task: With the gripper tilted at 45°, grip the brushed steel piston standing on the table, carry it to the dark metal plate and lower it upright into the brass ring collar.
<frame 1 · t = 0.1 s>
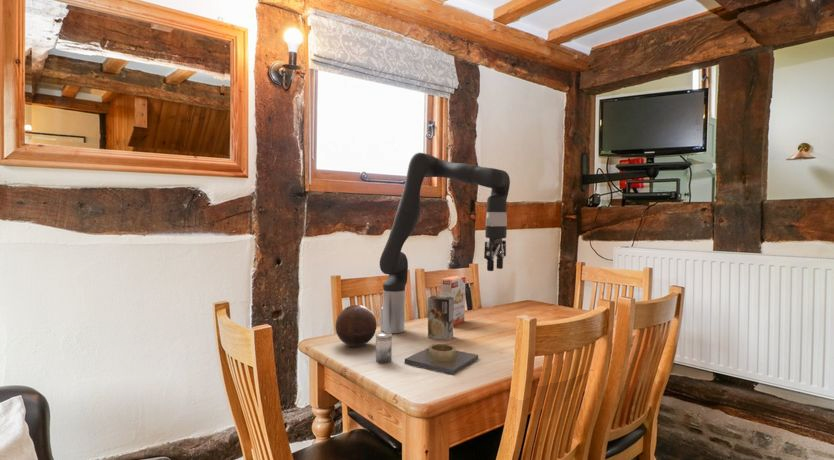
hand: (495, 269, 161), 29 cm above the table, tool pointing down, fingers open, 8 cm apart
wooden sphere: (355, 346, 165), on the table
cracker box: (452, 324, 200), on the table
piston: (383, 361, 148), on the table
square base with socket: (442, 361, 148), on the table
coffee box: (440, 337, 177), on the table
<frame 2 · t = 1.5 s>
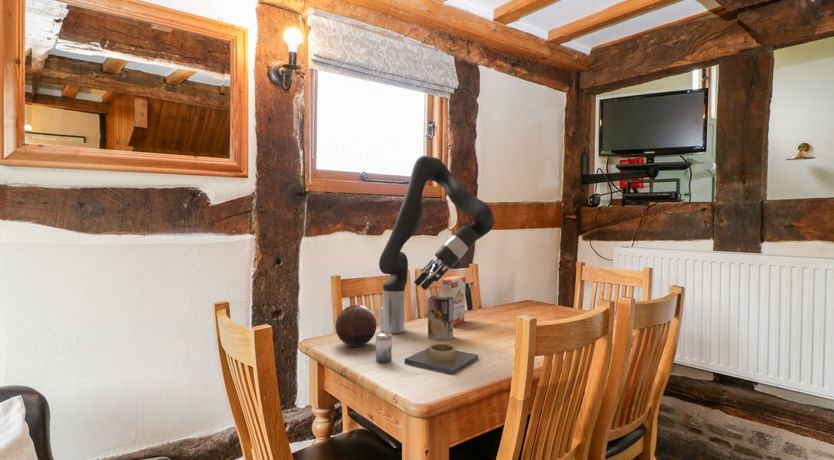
hand: (419, 286, 150), 25 cm above the table, tool tilted 45°, fingers open, 8 cm apart
nothing on the table moved.
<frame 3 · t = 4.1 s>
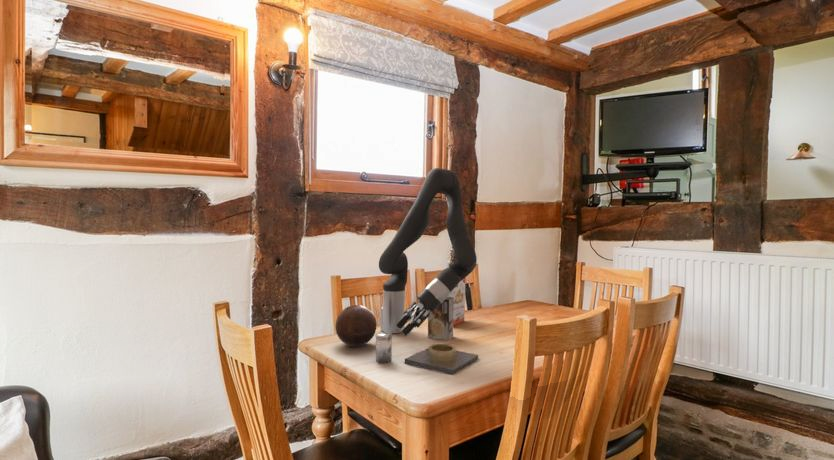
hand: (400, 330, 149), 10 cm above the table, tool tilted 45°, fingers open, 8 cm apart
nothing on the table moved.
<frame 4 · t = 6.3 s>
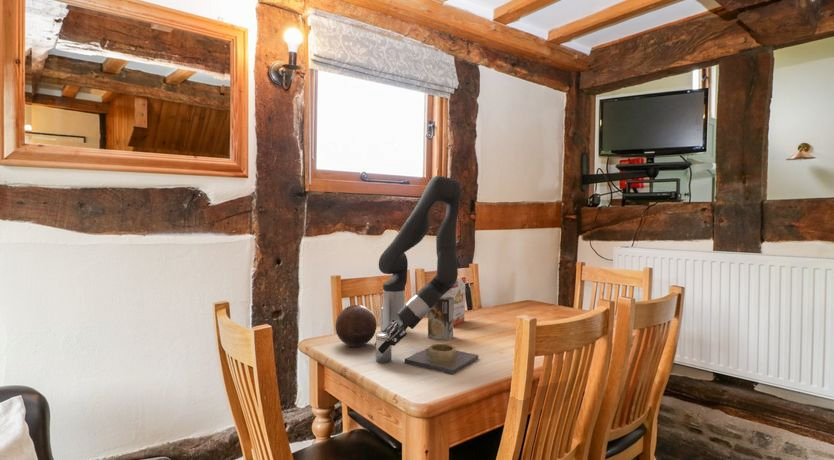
hand: (378, 348, 147), 4 cm above the table, tool tilted 45°, fingers closed on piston, 5 cm apart
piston: (383, 361, 148), on the table, touching gripper
everything else where it was.
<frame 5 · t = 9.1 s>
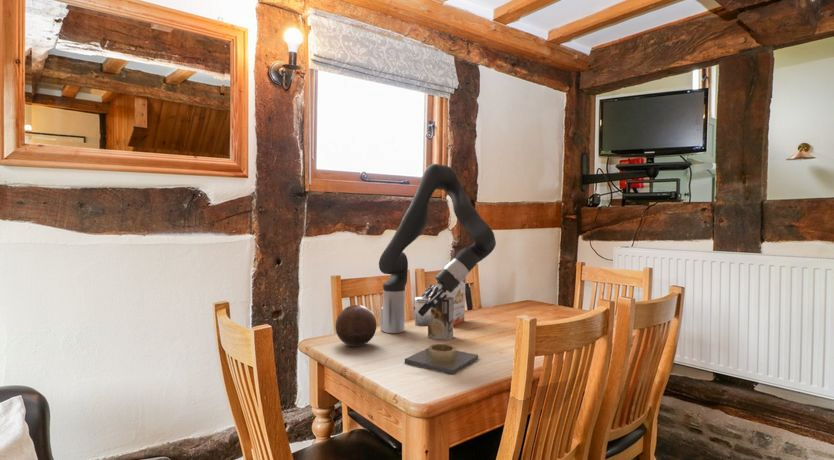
hand: (417, 312, 147), 17 cm above the table, tool tilted 45°, fingers closed on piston, 5 cm apart
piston: (422, 324, 147), point 12 cm above the table, touching gripper
everything else where it was.
when the fingers open (7 cm above the table, at t = 12.2 s): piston drops 1 cm, resting on square base with socket.
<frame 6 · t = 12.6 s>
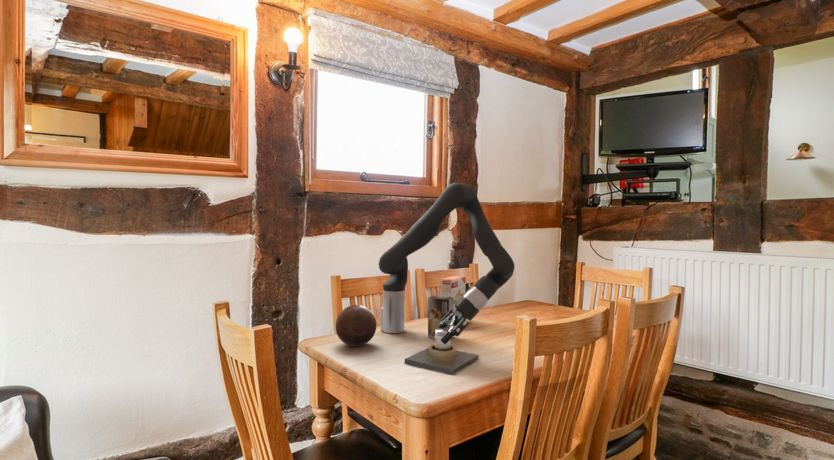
hand: (438, 338, 148), 8 cm above the table, tool tilted 45°, fingers open, 8 cm apart
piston: (442, 356, 148), point 2 cm above the table, touching square base with socket
everything else where it was.
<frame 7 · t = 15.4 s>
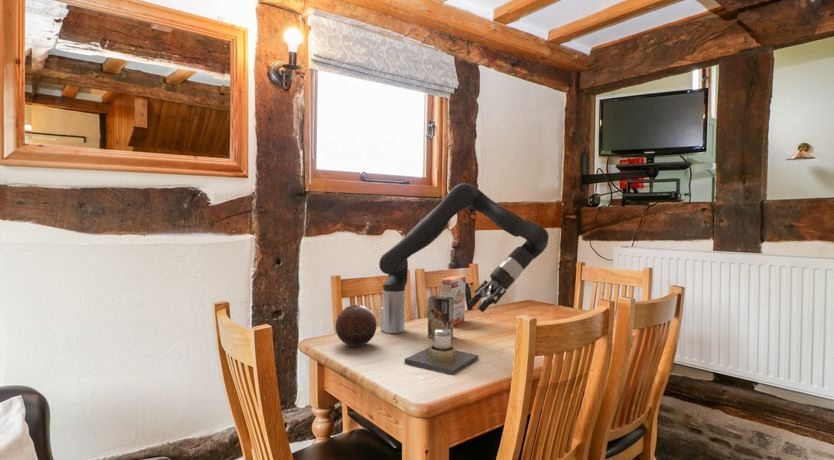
hand: (475, 307, 150), 18 cm above the table, tool tilted 45°, fingers open, 8 cm apart
nothing on the table moved.
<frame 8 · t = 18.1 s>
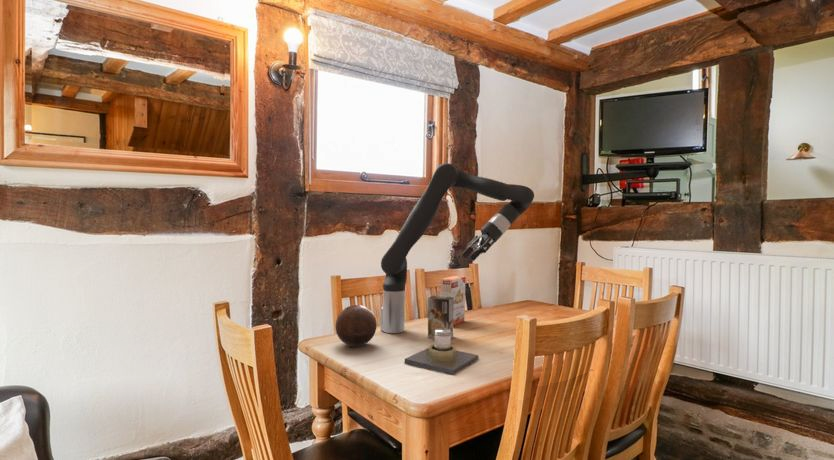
hand: (467, 258, 168), 33 cm above the table, tool tilted 45°, fingers open, 8 cm apart
nothing on the table moved.
at the end: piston 0.1 cm off-centre on the square base with socket, point 1.5 cm above the square base with socket's base; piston tilted 0°; the gripper is holding nothing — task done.
